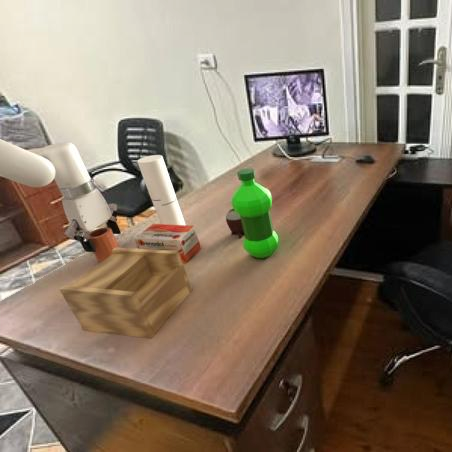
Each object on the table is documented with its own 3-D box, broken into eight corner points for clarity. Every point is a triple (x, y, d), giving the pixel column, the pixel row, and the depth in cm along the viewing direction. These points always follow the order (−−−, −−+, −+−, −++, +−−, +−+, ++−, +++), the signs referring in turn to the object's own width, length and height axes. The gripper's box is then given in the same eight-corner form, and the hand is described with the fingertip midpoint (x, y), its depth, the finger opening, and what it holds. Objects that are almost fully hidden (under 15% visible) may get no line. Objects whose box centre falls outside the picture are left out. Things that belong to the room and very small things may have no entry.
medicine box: (142, 260, 103) (132, 237, 99) (160, 245, 110) (151, 223, 106) (187, 263, 100) (178, 239, 96) (202, 248, 106) (195, 225, 102)
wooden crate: (83, 330, 79) (58, 288, 73) (132, 285, 93) (115, 247, 87) (151, 338, 75) (130, 295, 69) (192, 290, 89) (178, 250, 83)
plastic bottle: (242, 249, 104) (222, 169, 91) (277, 240, 107) (262, 161, 94) (248, 267, 95) (226, 182, 83) (285, 256, 98) (270, 173, 86)
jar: (93, 263, 104) (80, 238, 99) (110, 251, 109) (98, 226, 105) (111, 265, 102) (99, 238, 98) (127, 252, 108) (115, 227, 103)
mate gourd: (228, 239, 109) (216, 196, 102) (232, 227, 116) (221, 186, 109) (252, 237, 110) (242, 193, 102) (255, 225, 117) (245, 183, 109)
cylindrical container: (169, 225, 122) (144, 155, 110) (189, 223, 122) (166, 154, 109) (160, 235, 116) (132, 163, 104) (180, 234, 115) (155, 161, 103)
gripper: (92, 177, 103) (115, 227, 111) (37, 203, 88) (69, 258, 97) (113, 176, 101) (135, 227, 110) (61, 203, 87) (91, 260, 95)
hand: (104, 242), depth 103 cm, fingers open, 9 cm apart
